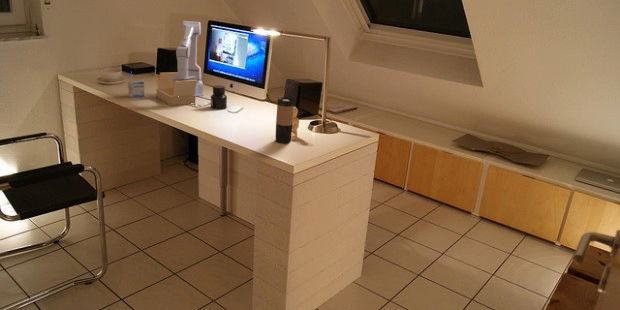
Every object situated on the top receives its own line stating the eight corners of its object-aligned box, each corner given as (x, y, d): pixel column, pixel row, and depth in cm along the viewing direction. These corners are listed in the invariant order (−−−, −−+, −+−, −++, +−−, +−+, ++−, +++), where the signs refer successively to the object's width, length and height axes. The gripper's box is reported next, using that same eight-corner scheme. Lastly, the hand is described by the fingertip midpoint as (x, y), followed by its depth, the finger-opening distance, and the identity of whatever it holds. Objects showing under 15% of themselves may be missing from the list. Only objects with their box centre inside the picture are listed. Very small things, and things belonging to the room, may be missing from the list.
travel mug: (291, 144, 222) (294, 101, 215) (274, 143, 221) (277, 100, 215) (290, 139, 229) (294, 97, 223) (274, 138, 229) (277, 96, 222)
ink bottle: (216, 104, 278) (216, 84, 274) (229, 107, 275) (230, 86, 271) (207, 108, 269) (207, 86, 265) (221, 110, 266) (221, 89, 262)
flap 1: (158, 88, 280) (158, 88, 281) (178, 87, 288) (178, 86, 288) (160, 73, 275) (160, 72, 275) (180, 72, 282) (180, 71, 282)
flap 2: (193, 94, 273) (193, 95, 273) (172, 96, 265) (172, 96, 265) (196, 79, 267) (196, 80, 266) (175, 80, 259) (175, 81, 259)
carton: (179, 95, 291) (179, 87, 289) (195, 104, 275) (195, 95, 273) (156, 97, 282) (156, 88, 280) (171, 106, 266) (171, 97, 264)
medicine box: (132, 98, 276) (132, 83, 273) (128, 96, 278) (127, 81, 275) (144, 96, 282) (144, 81, 279) (140, 94, 284) (139, 80, 281)
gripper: (173, 70, 257) (173, 95, 262) (198, 69, 265) (198, 93, 270) (168, 68, 262) (168, 92, 267) (192, 67, 270) (192, 90, 275)
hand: (182, 93), depth 269 cm, fingers closed, pressing on flap 2
